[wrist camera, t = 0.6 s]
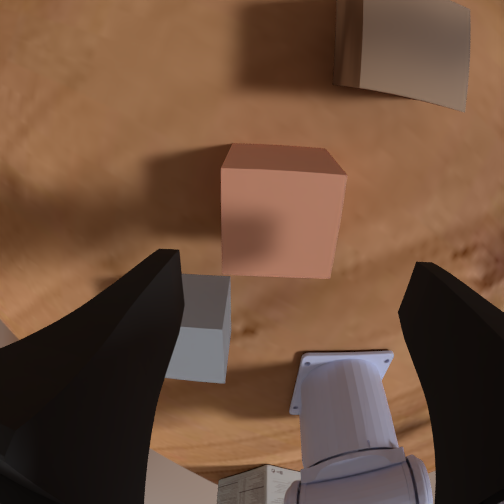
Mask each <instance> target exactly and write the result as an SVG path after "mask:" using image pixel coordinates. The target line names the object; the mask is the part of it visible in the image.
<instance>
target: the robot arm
mask: <svg viewBox="0 0 504 504" xmlns="http://www.w3.org/2000/svg"><path fill="white" fill-rule="evenodd" d="M184 307H185V301H184V293H183V283H182V274H181V263H180V252H179V250H174V249H158V250H157V251H155V252H154V253H152V254H151V255H150V256H148V257H147V258H146V259H144V260H143V261H142V262H141V263H139V264H138V265H137V266H135V267H134V268H133V269H132V270H130V271H129V272H128V273H126V274H125V275H124V276H123V277H121V278H120V279H119V280H117V281H116V282H115V283H113V284H112V285H111V286H109V287H108V288H106V289H105V290H104V291H102V292H101V293H99V294H98V295H97V296H95V297H94V298H93V299H91V300H90V301H88V302H87V303H85V304H84V305H82V306H81V307H79V308H78V309H76V310H75V311H73V312H71V313H70V314H68V315H66V316H65V317H63V318H61V319H60V320H58V321H56V322H54V323H53V324H51V325H49V326H47V327H45V328H43V329H41V330H39V331H37V332H35V333H33V334H31V335H29V336H27V337H25V338H23V339H21V340H19V341H17V342H14V343H12V344H10V345H8V346H5V347H3V348H0V504H144V494H145V493H144V492H145V481H146V471H147V462H148V454H149V447H150V440H151V433H152V427H153V422H154V416H155V411H156V406H157V402H158V398H159V394H160V391H161V388H162V385H163V382H164V378H165V375H166V372H167V369H168V366H169V363H170V360H171V357H172V354H173V351H174V348H175V345H176V342H177V339H178V336H179V332H180V327H181V322H182V317H183V312H184ZM398 314H399V319H400V323H401V328H402V332H403V335H404V339H405V342H406V345H407V347H408V350H409V353H410V355H411V358H412V361H413V364H414V366H415V369H416V372H417V374H418V377H419V380H420V383H421V386H422V388H423V391H424V394H425V398H426V401H427V405H428V410H429V415H430V420H431V426H432V433H433V441H434V450H435V467H436V490H435V504H504V312H502V311H501V310H500V309H498V308H497V307H495V306H494V305H493V304H491V303H490V302H488V301H487V300H486V299H484V298H483V297H482V296H480V295H479V294H478V293H476V292H475V291H474V290H472V289H471V288H470V287H468V286H467V285H466V284H464V283H463V282H462V281H460V280H459V279H457V278H456V277H455V276H453V275H452V274H450V273H449V272H447V271H446V270H444V269H443V268H441V267H439V266H438V265H436V264H434V263H432V262H416V264H415V267H414V270H413V273H412V276H411V279H410V281H409V284H408V287H407V290H406V292H405V295H404V298H403V300H402V303H401V306H400V308H399V311H398ZM393 357H394V354H393V352H392V351H369V352H335V353H305V354H303V355H302V357H301V362H300V366H299V371H298V375H297V380H296V384H295V388H294V392H293V397H292V401H291V405H290V409H289V413H290V414H292V415H299V416H300V432H301V449H302V462H303V466H304V469H301V470H300V472H301V480H296V481H294V482H293V483H292V484H291V486H290V487H289V488H288V489H287V491H286V493H285V497H284V503H283V504H433V499H432V498H433V497H432V490H431V484H430V480H429V476H428V473H427V470H426V467H425V465H424V463H423V461H422V460H421V459H419V458H417V457H415V456H414V455H409V456H406V457H405V453H404V449H403V447H399V446H398V442H397V438H396V434H395V430H394V426H393V422H392V418H391V414H390V410H389V406H388V402H387V399H386V395H385V391H384V388H383V384H382V381H381V380H382V378H383V377H384V375H385V373H386V371H387V369H388V367H389V365H390V363H391V361H392V359H393Z"/></svg>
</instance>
